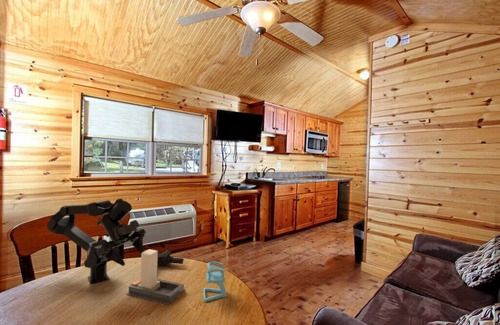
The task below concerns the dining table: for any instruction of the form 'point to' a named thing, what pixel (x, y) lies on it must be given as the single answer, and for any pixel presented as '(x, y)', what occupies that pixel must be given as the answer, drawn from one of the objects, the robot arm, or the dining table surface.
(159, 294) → the grey tray
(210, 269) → the chair
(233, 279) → the dining table surface
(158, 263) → the black angular piece
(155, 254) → the slider
